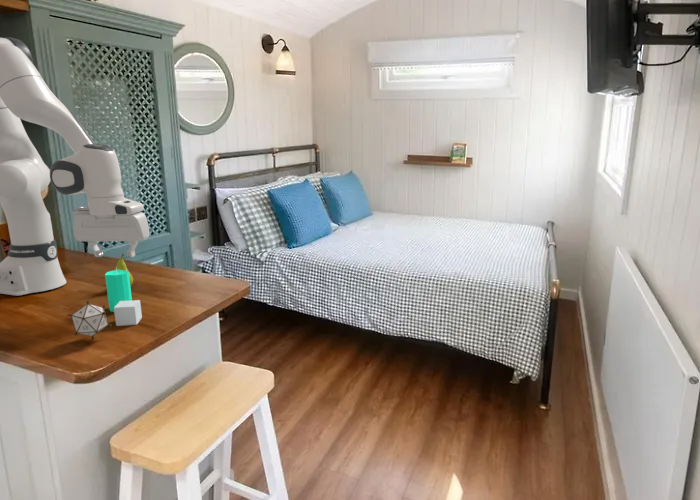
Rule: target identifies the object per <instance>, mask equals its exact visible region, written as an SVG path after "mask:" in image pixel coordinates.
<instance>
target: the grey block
mask: <svg viewBox="0 0 700 500" xmlns="http://www.w3.org/2000/svg"><path fill="white" fill-rule="evenodd" d="M113 313H114V319H115V325H116V327H119V326H135V325H136V326H138V324H139V322H140V321H141V320H142V318H143V313H142V305H141V300H140V299H135V300H133V299H132V300H131V301H120V302H119V303H118V304H117V305H116V306H115V307H114V312H113Z"/></svg>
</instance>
